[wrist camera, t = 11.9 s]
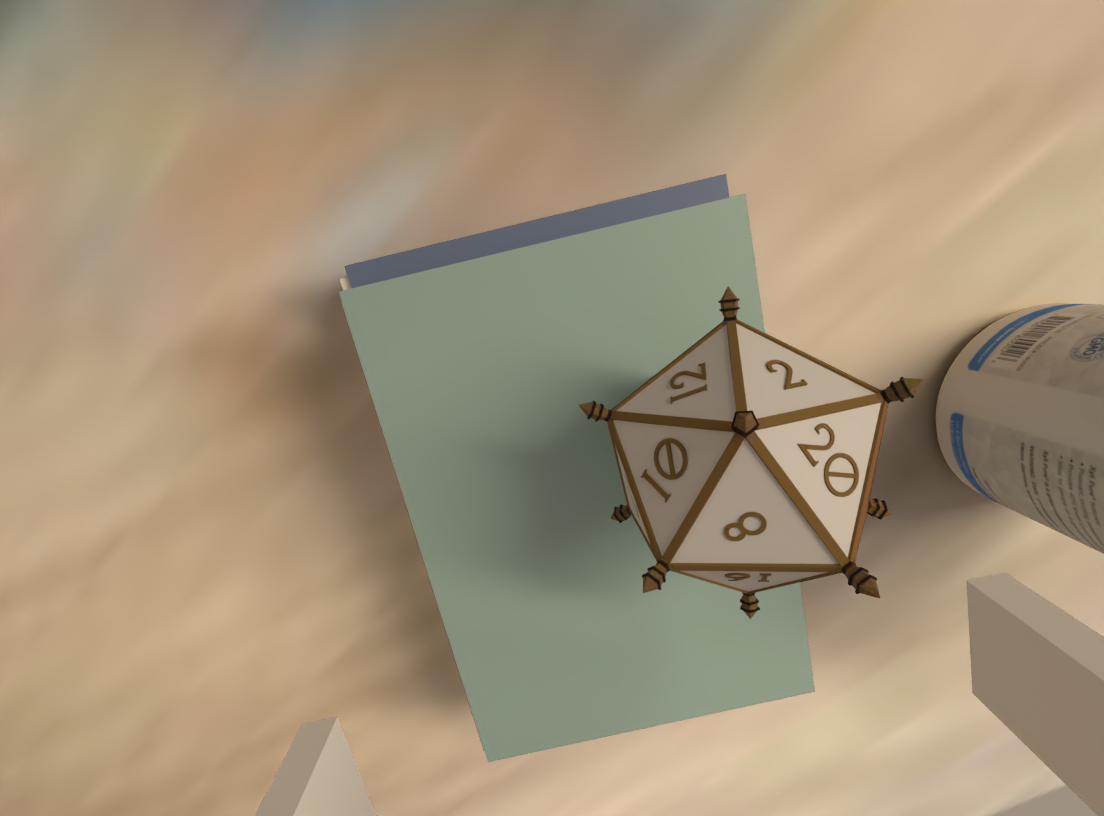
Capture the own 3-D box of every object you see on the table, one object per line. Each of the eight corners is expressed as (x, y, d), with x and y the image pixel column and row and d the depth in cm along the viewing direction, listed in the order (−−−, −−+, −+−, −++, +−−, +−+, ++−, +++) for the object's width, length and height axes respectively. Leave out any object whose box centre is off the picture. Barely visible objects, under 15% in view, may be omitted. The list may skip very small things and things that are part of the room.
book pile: (358, 268, 25) (303, 268, 19) (703, 185, 24) (755, 158, 18) (485, 684, 30) (473, 785, 24) (771, 622, 29) (829, 708, 24)
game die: (715, 580, 22) (1008, 488, 16) (619, 723, 15) (1069, 649, 9) (604, 383, 23) (845, 231, 17) (466, 433, 16) (791, 206, 10)
